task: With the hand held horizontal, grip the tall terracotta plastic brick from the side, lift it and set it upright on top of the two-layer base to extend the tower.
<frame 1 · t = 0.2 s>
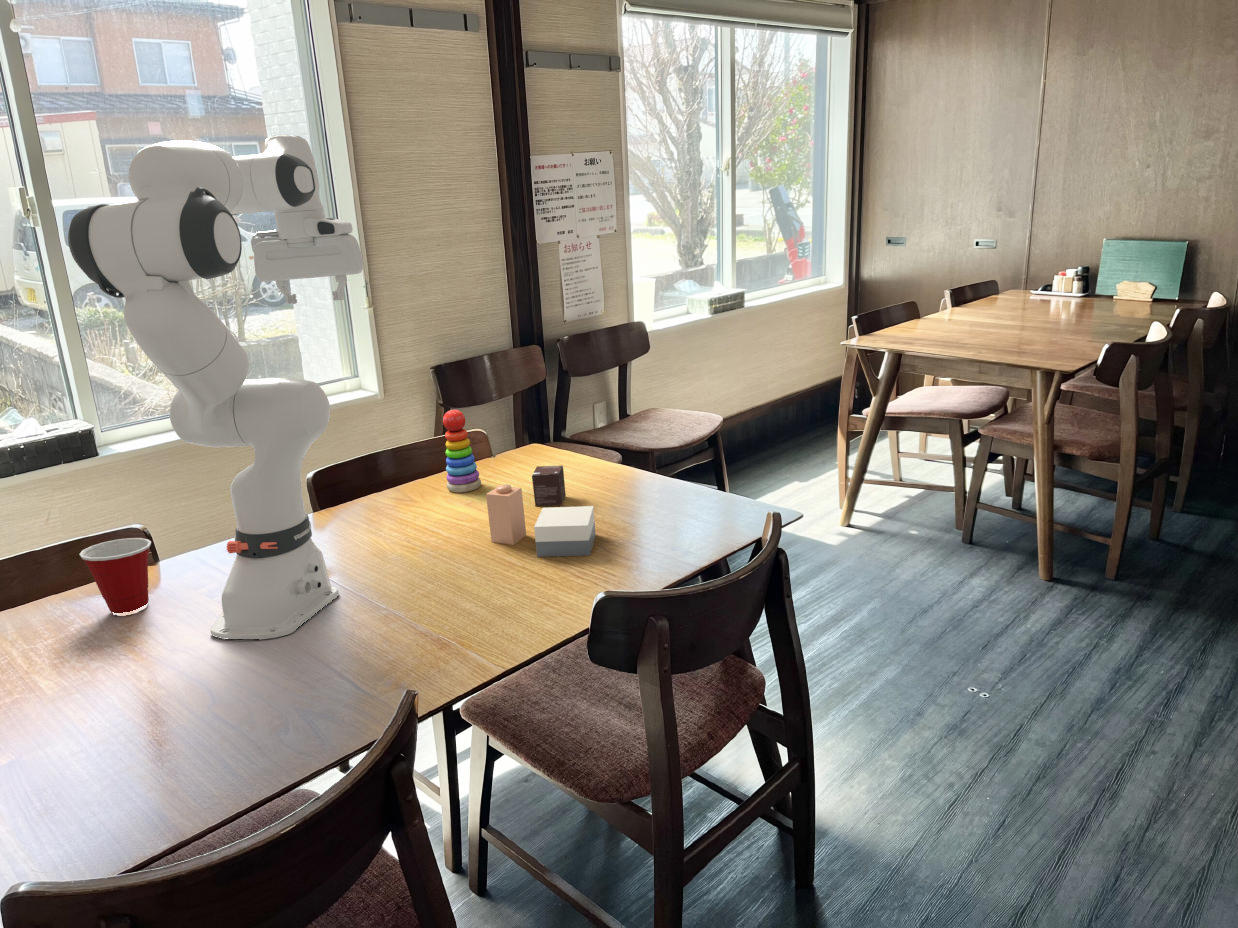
hand: (315, 302, 171), 47 cm above the table, tool pointing down, fingers open, 8 cm apart
plastic cup: (131, 609, 156), on the table
stacking toy: (464, 488, 208), on the table
tower base: (567, 545, 171), on the table
box: (550, 502, 196), on the table
tall brick: (509, 538, 177), on the table
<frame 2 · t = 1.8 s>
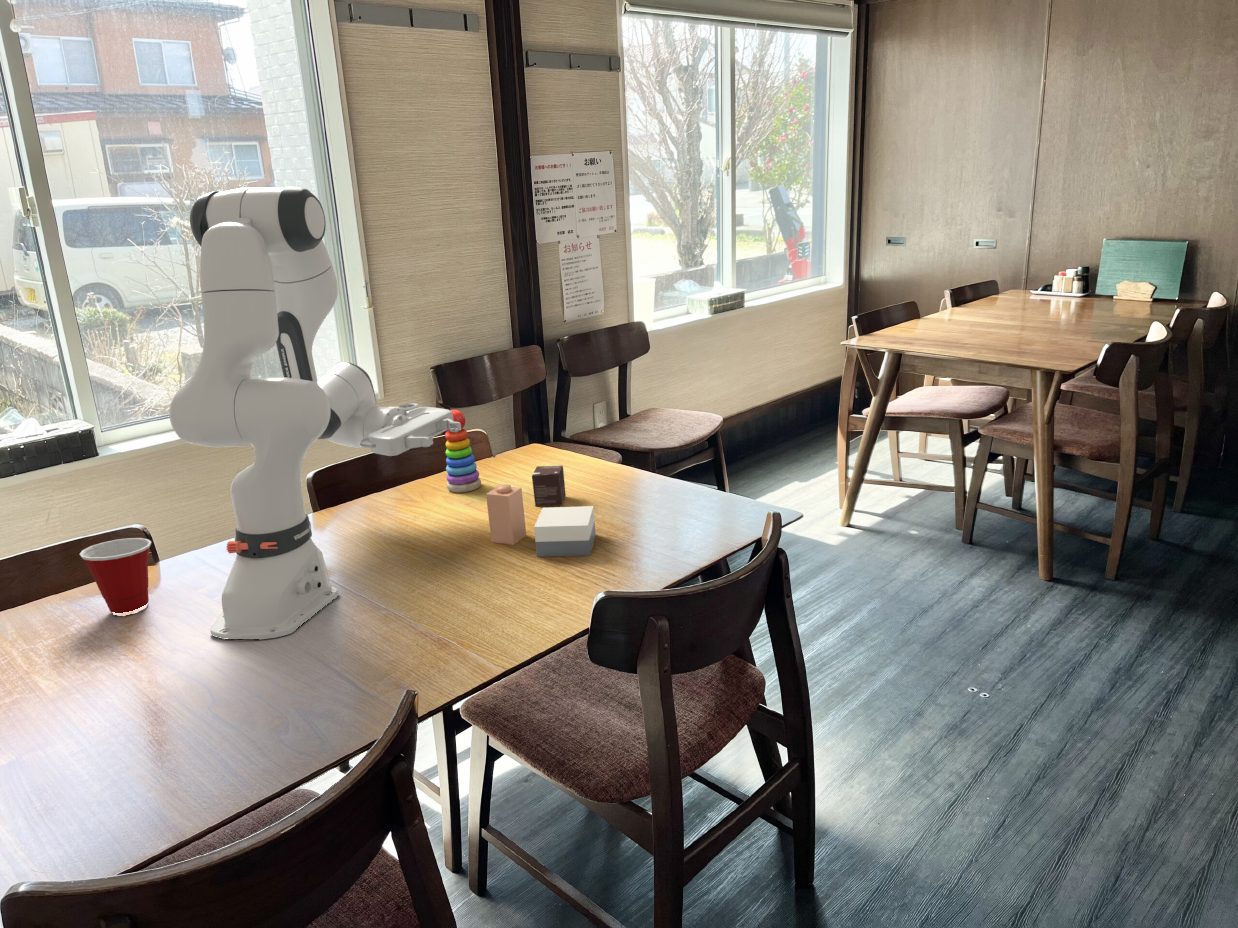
hand: (445, 434, 175), 21 cm above the table, tool horizontal, fingers open, 8 cm apart
nothing on the table moved.
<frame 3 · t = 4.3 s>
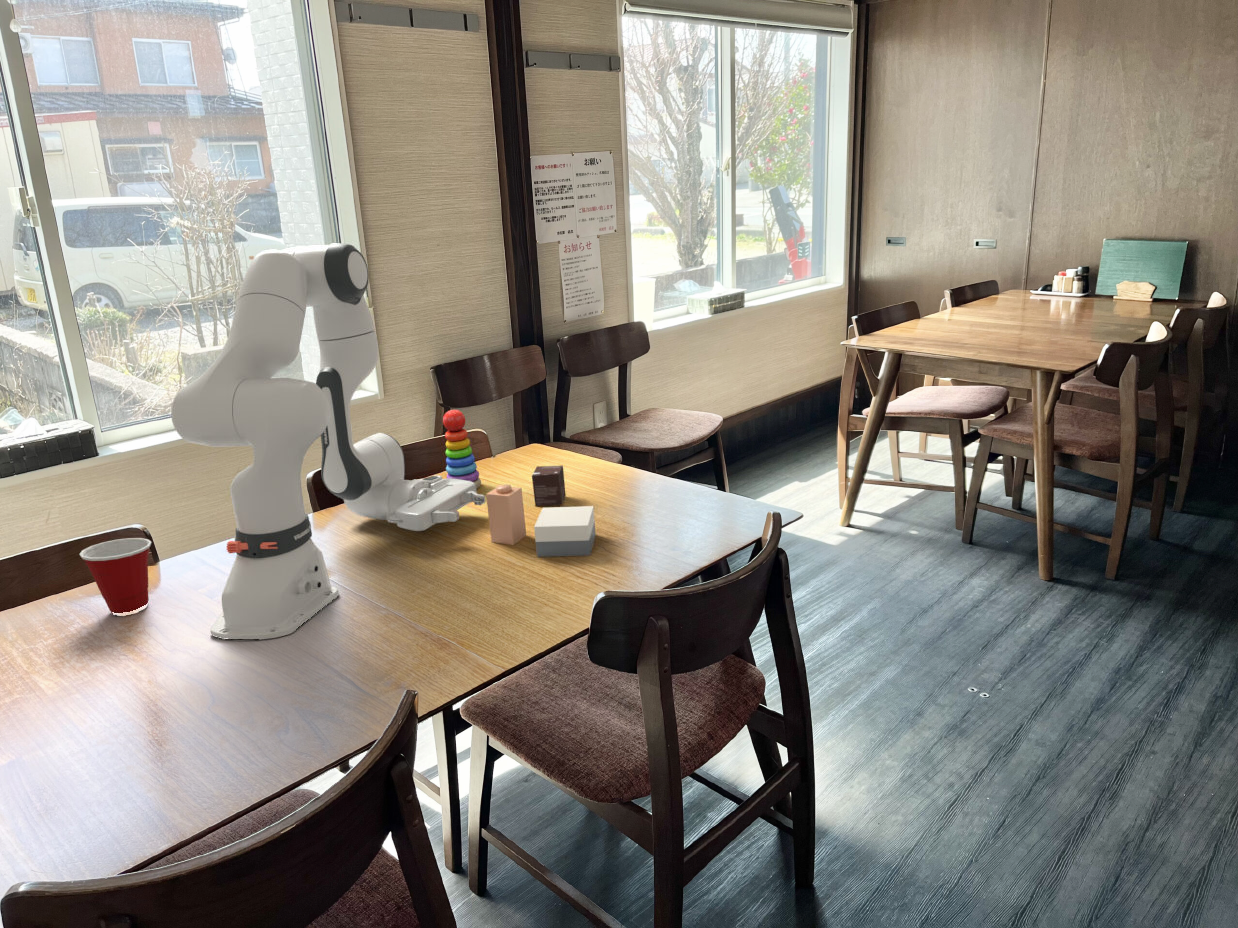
hand: (470, 508, 178), 6 cm above the table, tool horizontal, fingers open, 8 cm apart
nothing on the table moved.
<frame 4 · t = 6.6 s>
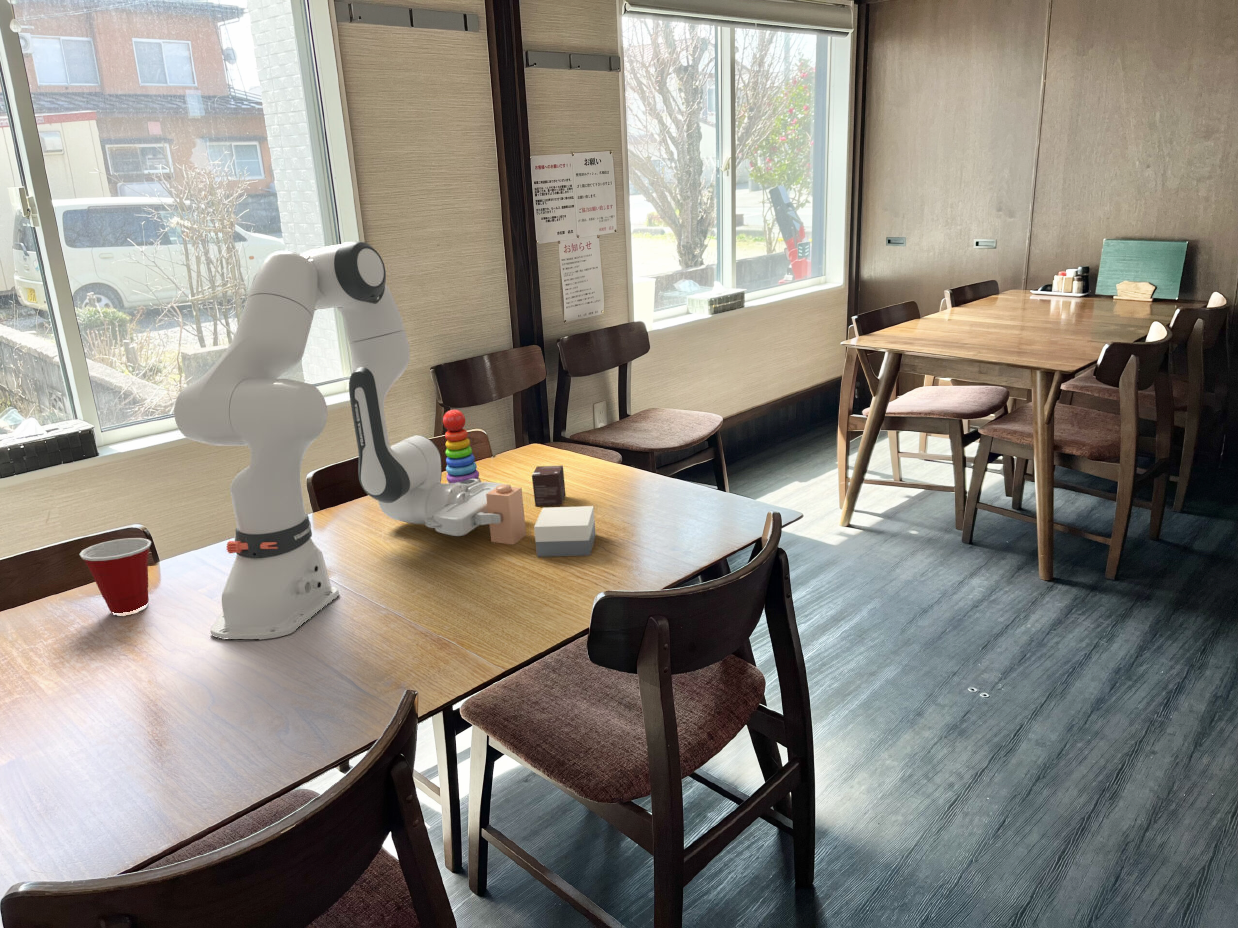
hand: (510, 512, 175), 6 cm above the table, tool horizontal, fingers closed on tall brick, 5 cm apart
tall brick: (509, 538, 177), on the table, touching gripper
everything else where it was.
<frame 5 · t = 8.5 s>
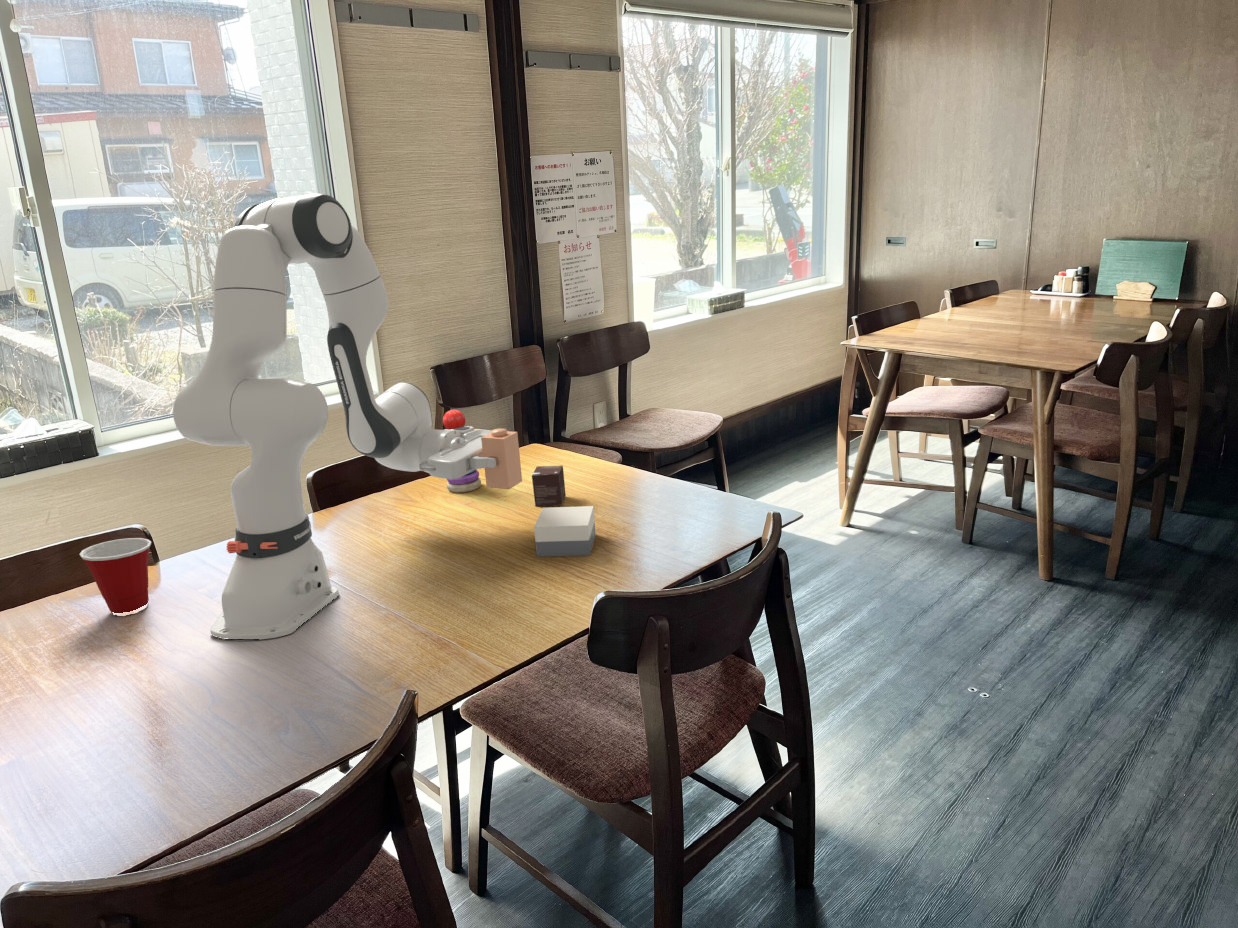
hand: (505, 457, 171), 17 cm above the table, tool horizontal, fingers closed on tall brick, 5 cm apart
tall brick: (504, 484, 173), point 11 cm above the table, touching gripper
everything else where it was.
when the fingers open (13 cm above the table, at t = 10.8 s): tall brick drops 1 cm, resting on tower base.
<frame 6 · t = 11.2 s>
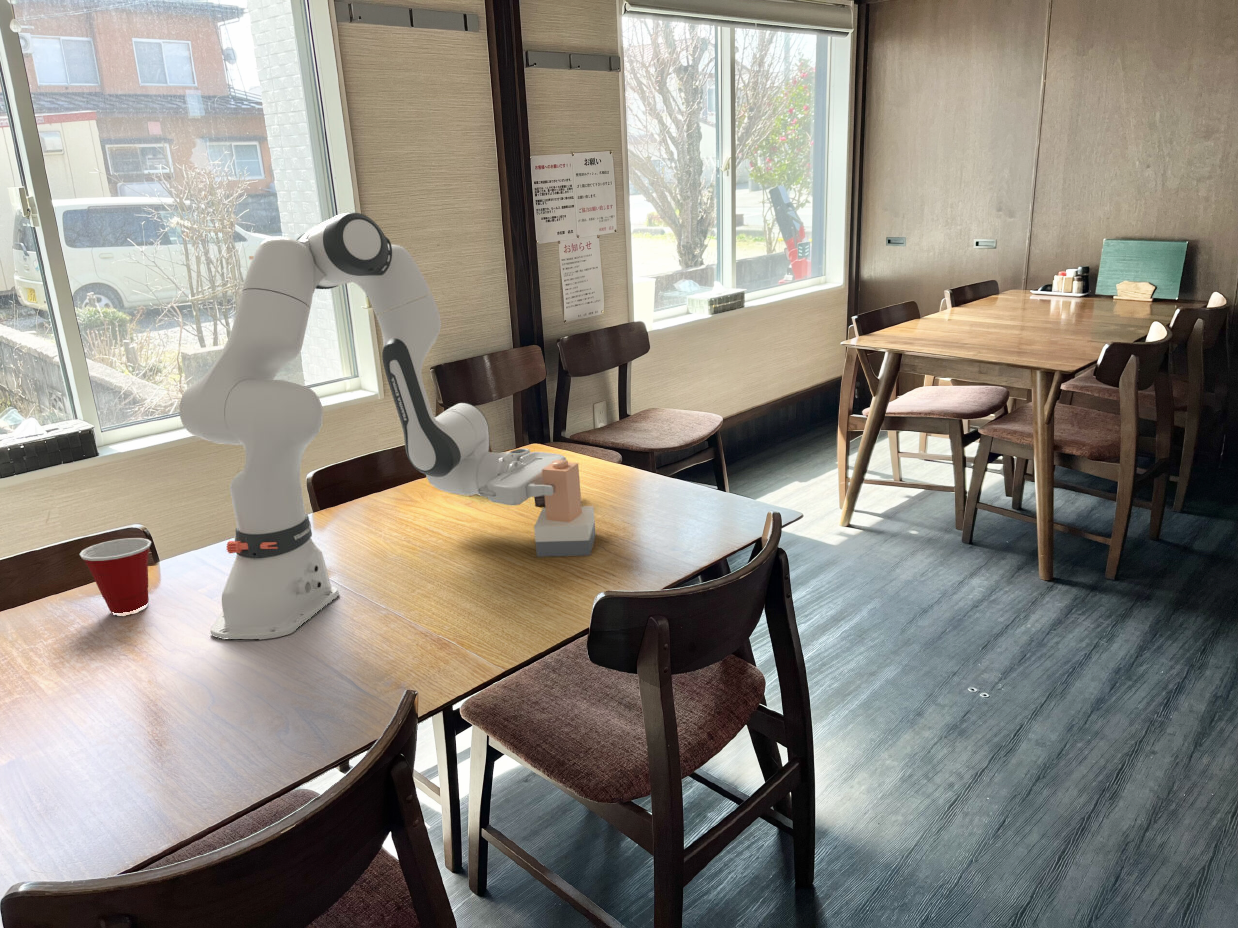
hand: (565, 481, 167), 13 cm above the table, tool horizontal, fingers open, 8 cm apart
tall brick: (564, 516, 169), point 6 cm above the table, touching tower base
everything else where it was.
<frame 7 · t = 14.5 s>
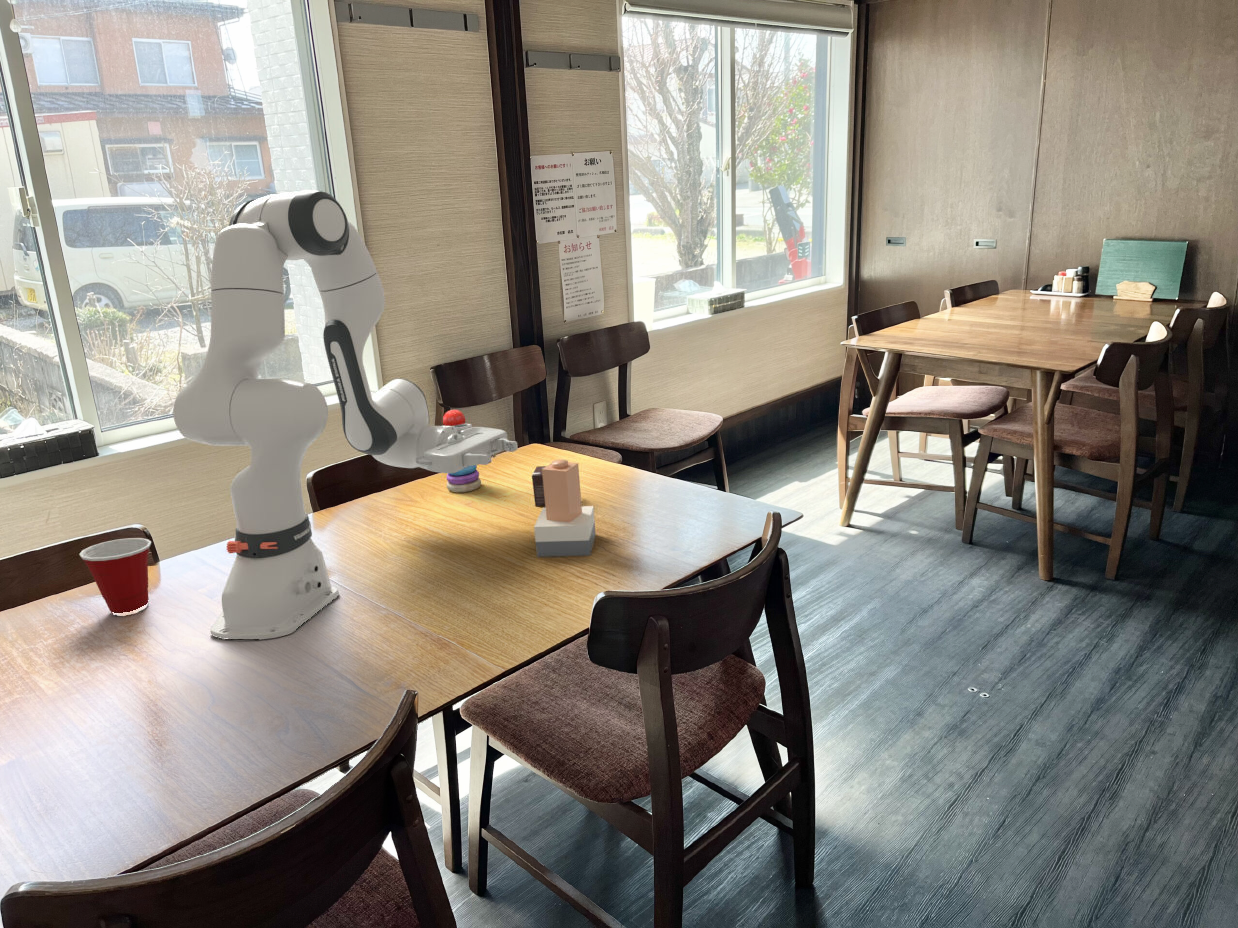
hand: (502, 452, 170), 18 cm above the table, tool horizontal, fingers open, 8 cm apart
nothing on the table moved.
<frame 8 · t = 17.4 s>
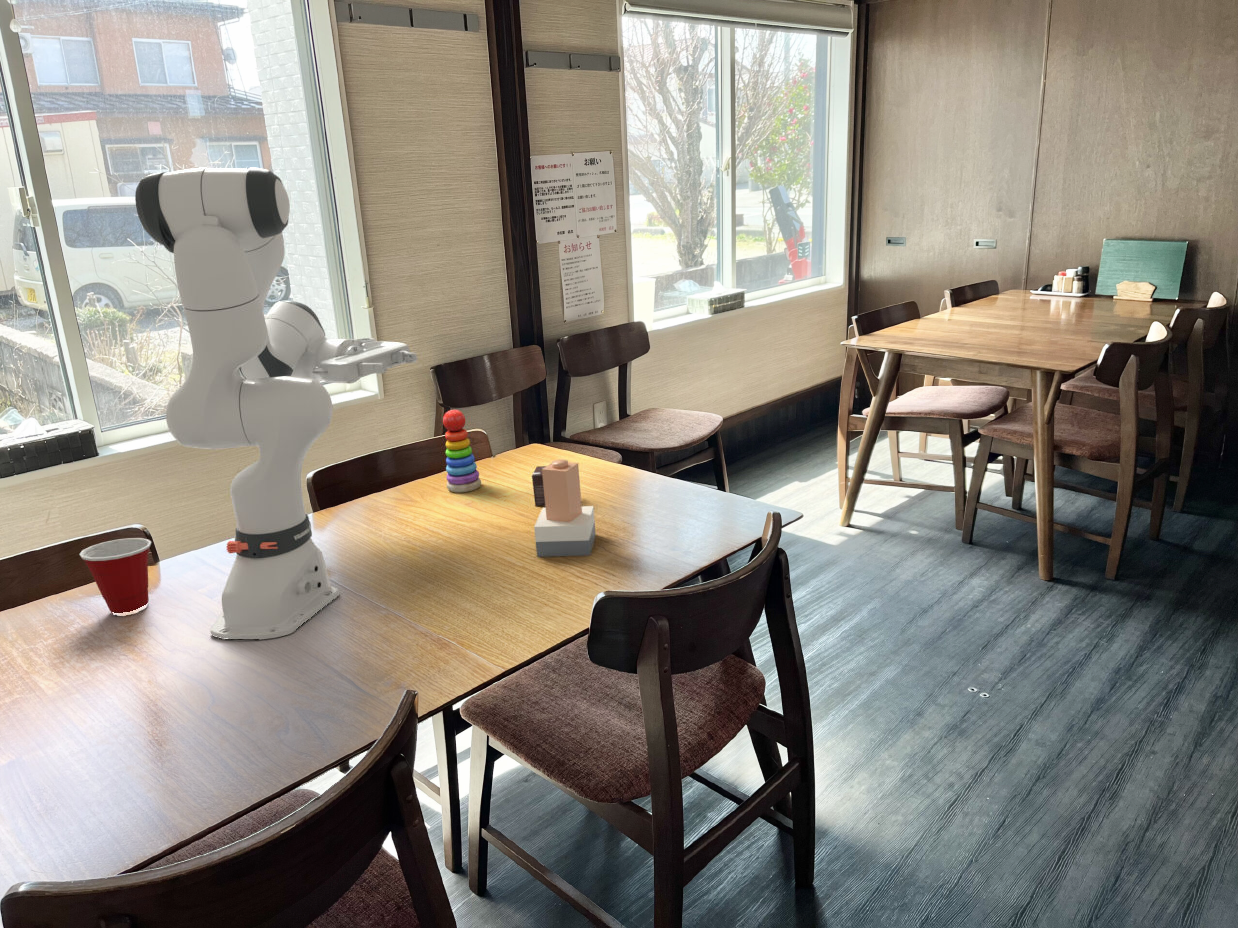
hand: (399, 363, 173), 35 cm above the table, tool horizontal, fingers open, 8 cm apart
nothing on the table moved.
at the end: tall brick 0.0 cm off-centre on the tower base, point 6.0 cm above the tower base's base; tall brick tilted 0°; the gripper is holding nothing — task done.
